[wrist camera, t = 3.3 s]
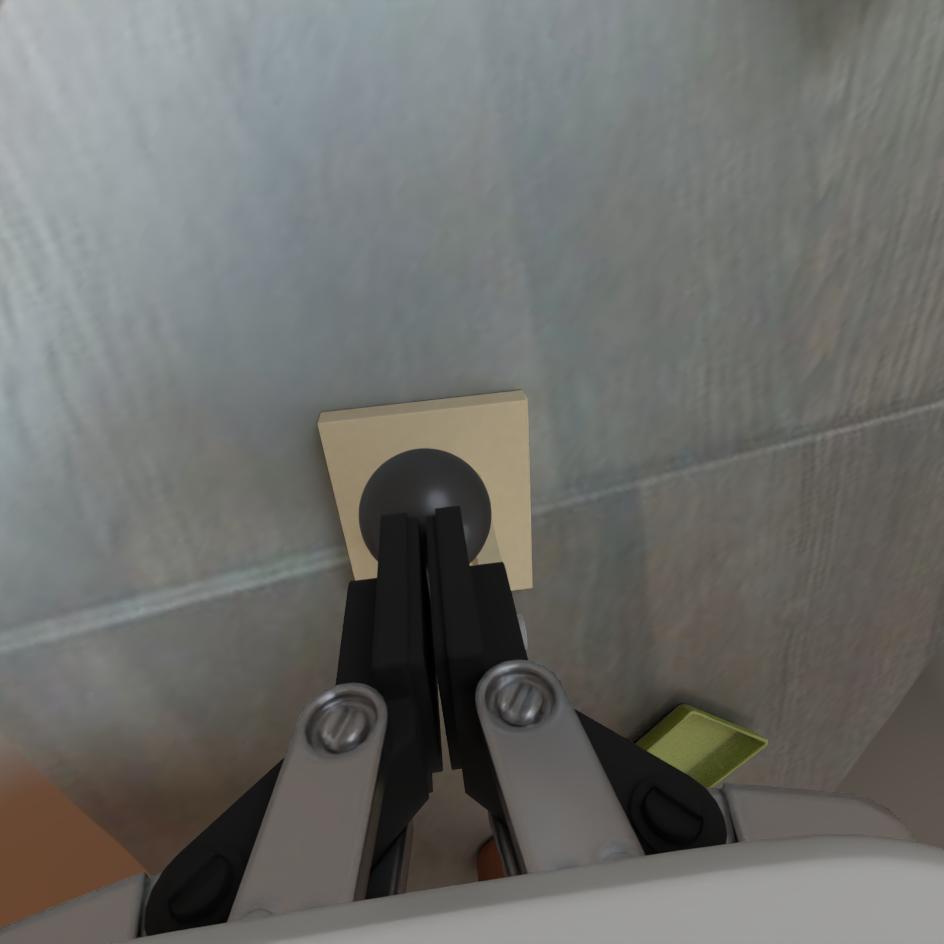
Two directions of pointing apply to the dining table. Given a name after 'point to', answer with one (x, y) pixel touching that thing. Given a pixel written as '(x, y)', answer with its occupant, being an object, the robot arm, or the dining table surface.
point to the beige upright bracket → (448, 429)
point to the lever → (425, 497)
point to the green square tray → (701, 744)
